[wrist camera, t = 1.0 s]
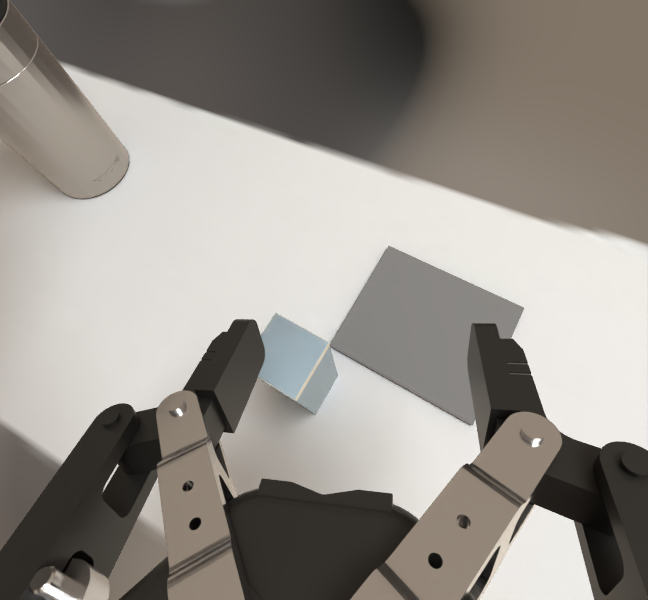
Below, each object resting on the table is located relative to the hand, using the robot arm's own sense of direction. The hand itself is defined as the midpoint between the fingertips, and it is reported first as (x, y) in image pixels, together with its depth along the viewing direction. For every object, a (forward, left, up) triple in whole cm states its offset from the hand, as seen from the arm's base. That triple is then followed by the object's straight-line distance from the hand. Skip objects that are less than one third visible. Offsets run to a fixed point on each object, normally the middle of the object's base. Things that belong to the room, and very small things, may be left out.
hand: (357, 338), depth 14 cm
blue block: (-5, -1, -21) cm, 21 cm away
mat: (+2, +9, -21) cm, 23 cm away
